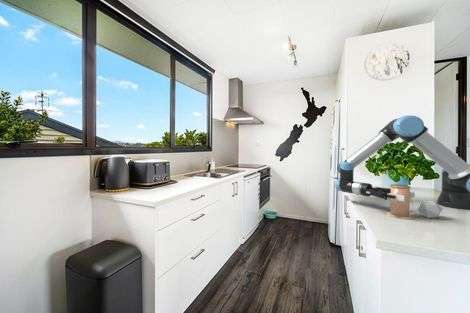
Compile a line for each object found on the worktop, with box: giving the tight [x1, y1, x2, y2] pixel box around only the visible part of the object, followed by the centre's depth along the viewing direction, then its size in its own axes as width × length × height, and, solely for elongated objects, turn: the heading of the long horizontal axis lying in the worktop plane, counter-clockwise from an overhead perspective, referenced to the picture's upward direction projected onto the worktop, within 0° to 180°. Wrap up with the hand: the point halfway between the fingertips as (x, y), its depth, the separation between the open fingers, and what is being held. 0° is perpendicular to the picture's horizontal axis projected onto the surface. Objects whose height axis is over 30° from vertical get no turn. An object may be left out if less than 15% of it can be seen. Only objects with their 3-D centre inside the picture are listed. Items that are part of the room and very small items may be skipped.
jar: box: [389, 183, 411, 217], centre depth 100 cm, size 8×8×15 cm
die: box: [417, 200, 443, 219], centre depth 97 cm, size 8×9×10 cm
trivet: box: [385, 210, 415, 220], centre depth 100 cm, size 11×11×1 cm
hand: (409, 196), depth 96 cm, fingers open, 11 cm apart
